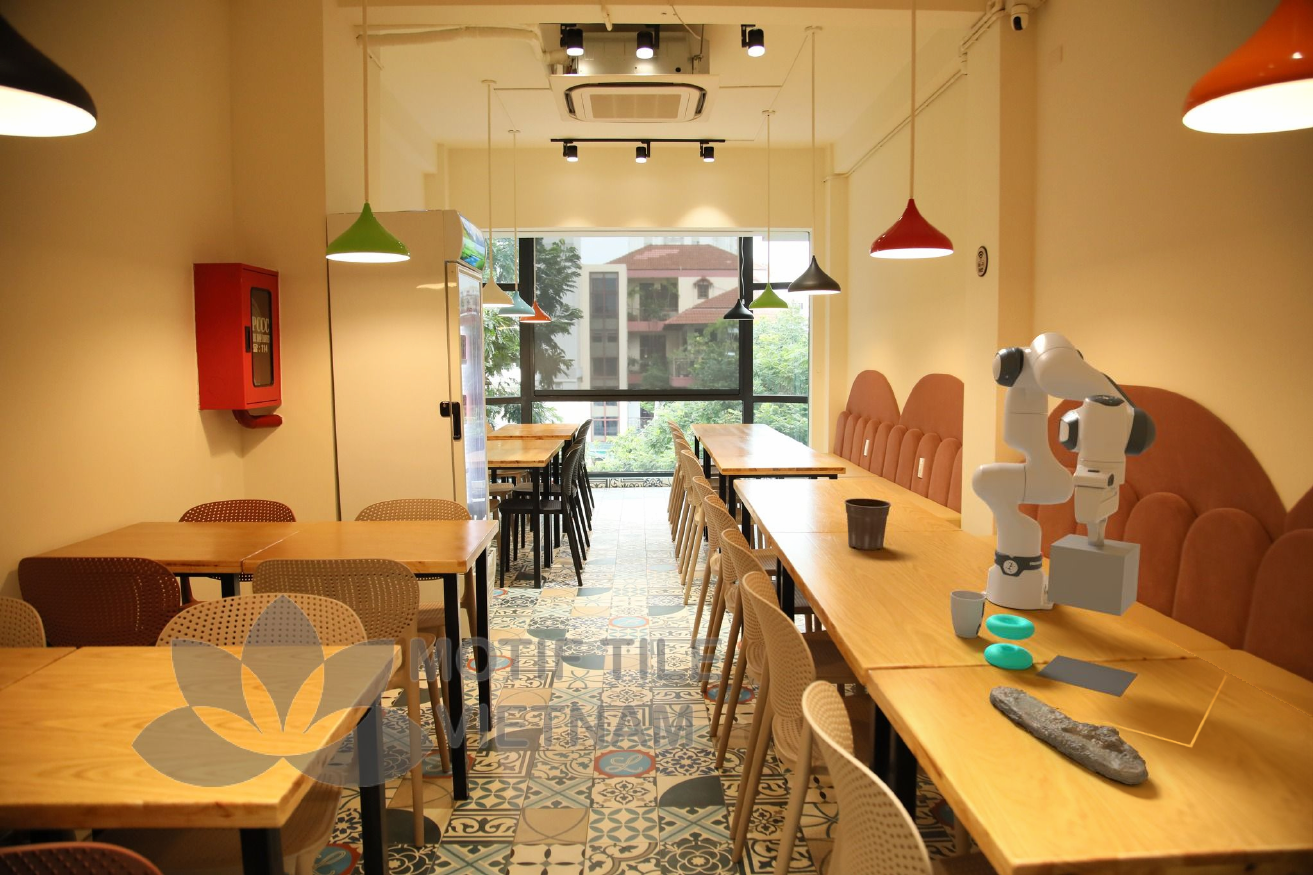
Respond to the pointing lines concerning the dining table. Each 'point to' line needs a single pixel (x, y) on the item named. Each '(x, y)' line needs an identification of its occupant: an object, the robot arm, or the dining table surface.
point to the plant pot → (866, 522)
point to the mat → (1088, 675)
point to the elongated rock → (1073, 736)
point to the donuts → (1009, 653)
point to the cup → (967, 612)
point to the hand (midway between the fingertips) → (1095, 538)
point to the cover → (1093, 573)
